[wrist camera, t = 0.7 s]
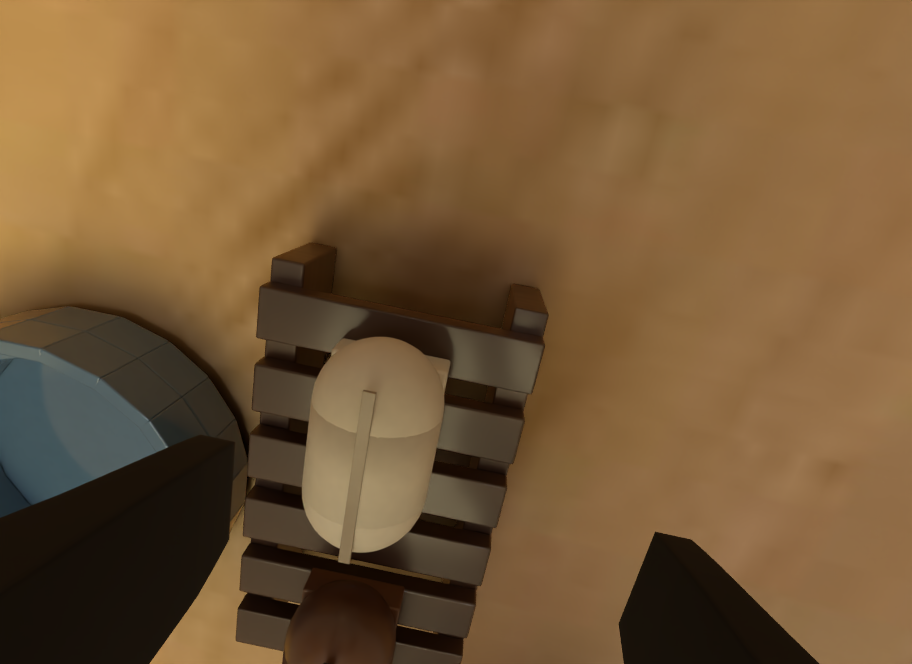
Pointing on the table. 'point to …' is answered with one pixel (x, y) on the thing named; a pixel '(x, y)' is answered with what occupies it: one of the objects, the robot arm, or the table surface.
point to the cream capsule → (372, 442)
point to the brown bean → (344, 621)
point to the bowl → (97, 403)
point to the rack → (451, 486)
